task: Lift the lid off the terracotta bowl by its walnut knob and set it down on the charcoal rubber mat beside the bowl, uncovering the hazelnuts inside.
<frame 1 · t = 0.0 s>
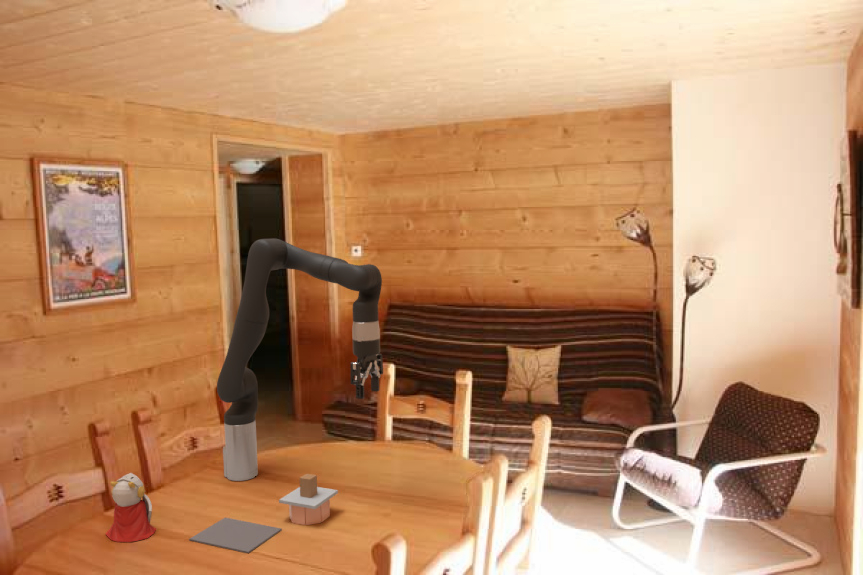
hand: (367, 394, 188), 29 cm above the table, tool pointing down, fingers open, 8 cm apart
lid: (309, 497, 178), point 5 cm above the table, touching bowl
bowl: (309, 516, 178), on the table
figurine: (133, 532, 171), on the table
mat: (236, 535, 168), on the table
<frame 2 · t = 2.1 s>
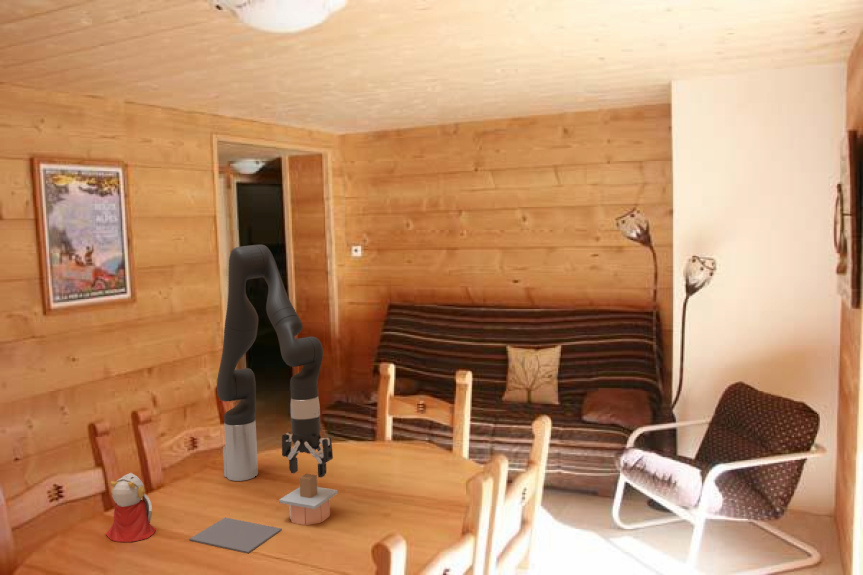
hand: (308, 474, 177), 11 cm above the table, tool pointing down, fingers open, 8 cm apart
nothing on the table moved.
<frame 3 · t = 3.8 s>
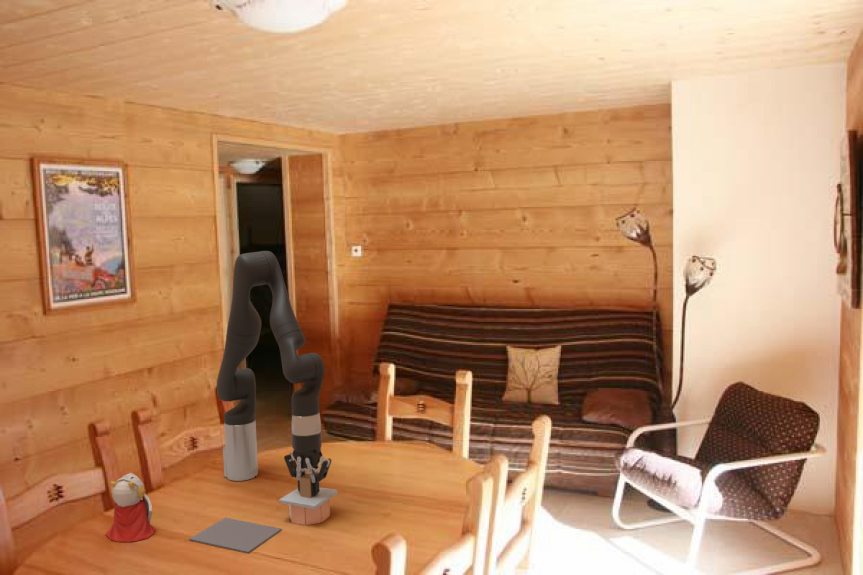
hand: (308, 493, 178), 6 cm above the table, tool pointing down, fingers closed on lid, 3 cm apart
lid: (309, 497, 178), point 5 cm above the table, touching bowl, gripper
everything else where it was.
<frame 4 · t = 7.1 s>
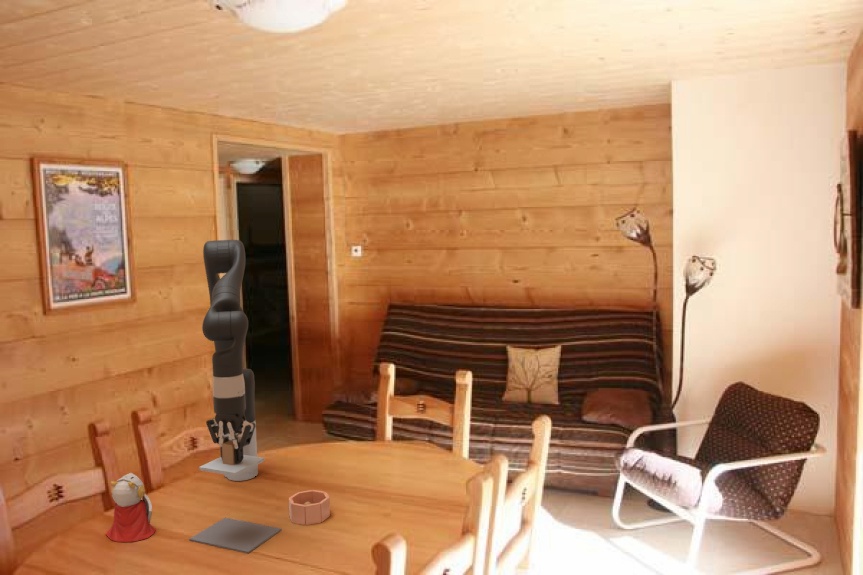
hand: (232, 460, 167), 19 cm above the table, tool pointing down, fingers closed on lid, 3 cm apart
lid: (232, 465, 167), point 18 cm above the table, touching gripper
everything else where it was.
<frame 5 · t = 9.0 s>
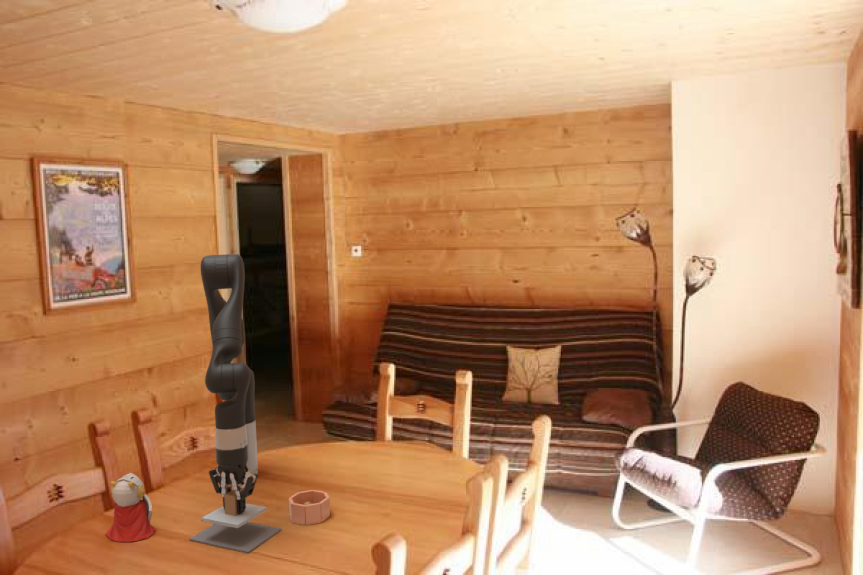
hand: (234, 511, 168), 6 cm above the table, tool pointing down, fingers closed on lid, 3 cm apart
lid: (234, 515, 168), point 5 cm above the table, touching gripper
everything else where it was.
when the fingers open (3 cm above the table, at t = 10.6 s): lid drops 1 cm, resting on mat.
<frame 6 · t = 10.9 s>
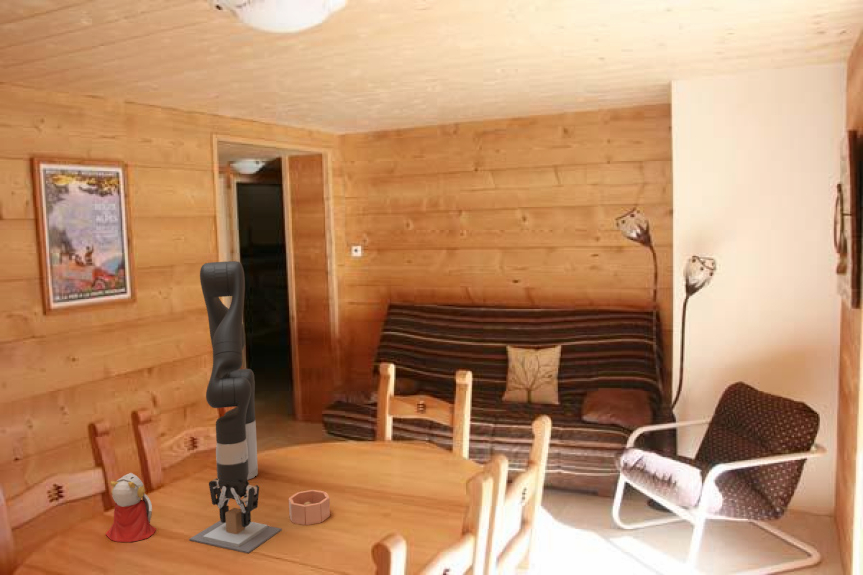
hand: (235, 523, 168), 3 cm above the table, tool pointing down, fingers open, 6 cm apart
lid: (235, 533, 168), resting on mat
everything else where it was.
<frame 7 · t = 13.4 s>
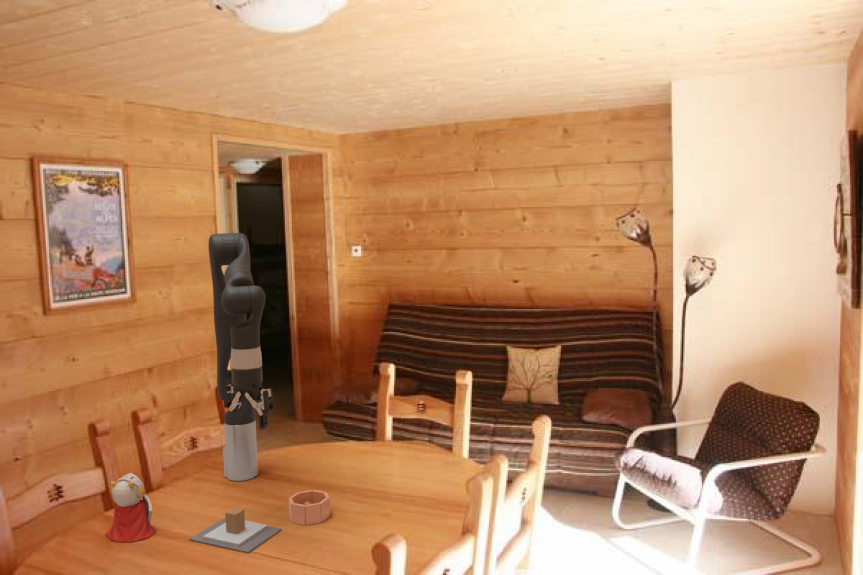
hand: (249, 426, 173), 26 cm above the table, tool pointing down, fingers open, 8 cm apart
nothing on the table moved.
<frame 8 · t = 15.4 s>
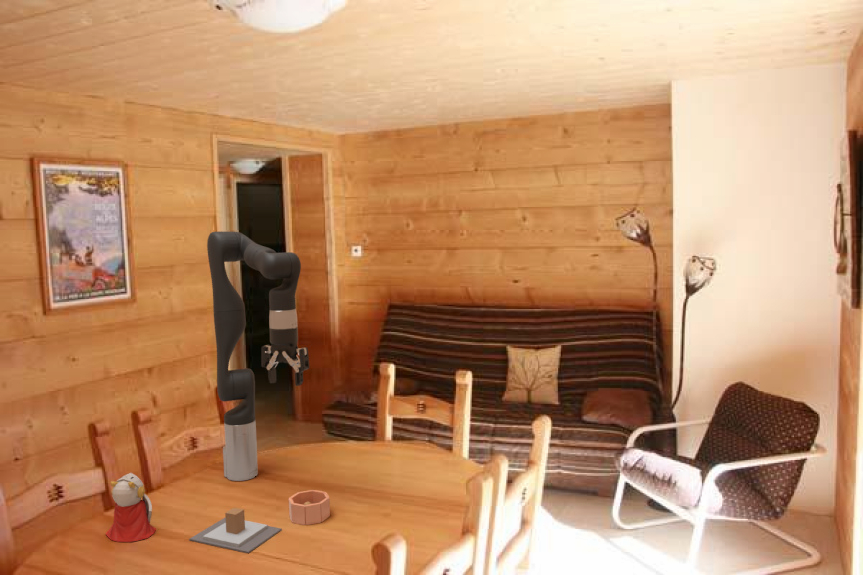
hand: (285, 384, 186), 33 cm above the table, tool pointing down, fingers open, 8 cm apart
nothing on the table moved.
at the end: lid inside the target area on the mat (0.1 cm from its centre), point 0.4 cm above the mat's base; lid touching mat; lid tilted 0° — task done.
